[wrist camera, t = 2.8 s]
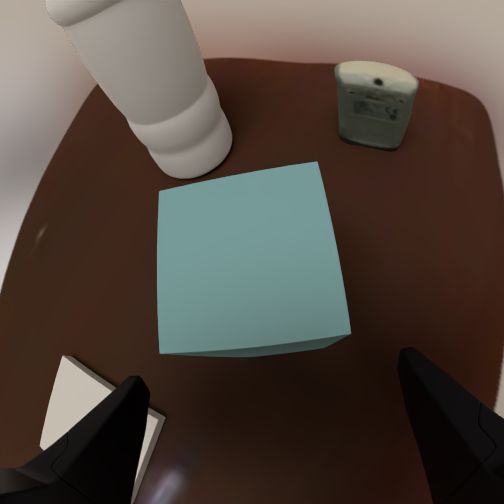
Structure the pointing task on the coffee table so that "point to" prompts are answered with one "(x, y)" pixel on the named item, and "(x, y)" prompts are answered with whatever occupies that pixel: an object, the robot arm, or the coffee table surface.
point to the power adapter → (374, 103)
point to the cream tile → (88, 409)
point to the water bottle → (151, 77)
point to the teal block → (249, 266)
